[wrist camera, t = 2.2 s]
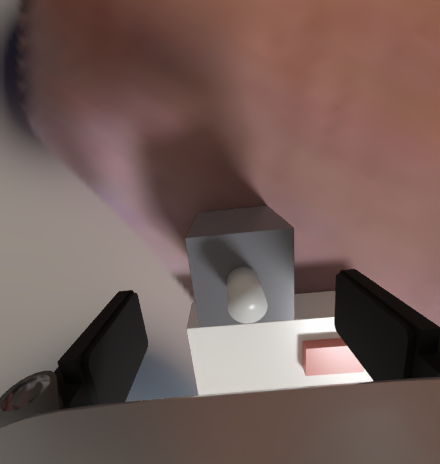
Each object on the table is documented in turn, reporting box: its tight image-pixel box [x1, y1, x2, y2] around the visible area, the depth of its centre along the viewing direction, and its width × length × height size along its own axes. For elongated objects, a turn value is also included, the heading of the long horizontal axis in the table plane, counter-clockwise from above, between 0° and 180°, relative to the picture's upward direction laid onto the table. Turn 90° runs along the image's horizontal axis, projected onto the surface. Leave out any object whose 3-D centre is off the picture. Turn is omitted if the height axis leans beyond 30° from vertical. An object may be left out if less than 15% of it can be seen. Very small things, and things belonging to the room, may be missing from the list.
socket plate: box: [187, 291, 373, 395], centre depth 18 cm, size 18×14×4 cm
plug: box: [185, 206, 294, 327], centre depth 12 cm, size 5×5×8 cm
